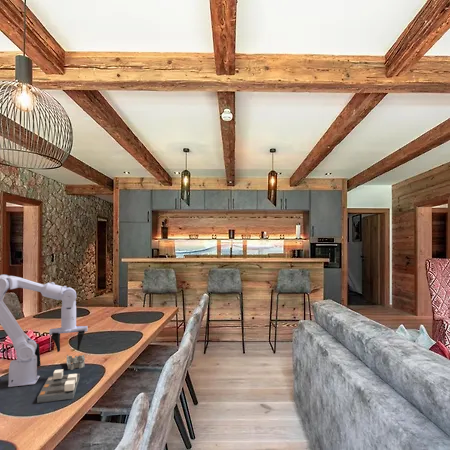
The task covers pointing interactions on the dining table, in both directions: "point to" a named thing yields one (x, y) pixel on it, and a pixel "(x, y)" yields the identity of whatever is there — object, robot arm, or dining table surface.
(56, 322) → the dining table surface
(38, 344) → the speaker
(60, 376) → the white small block
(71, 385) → the cream small block
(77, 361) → the egg carton
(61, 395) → the switch unit
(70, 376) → the cream small block
